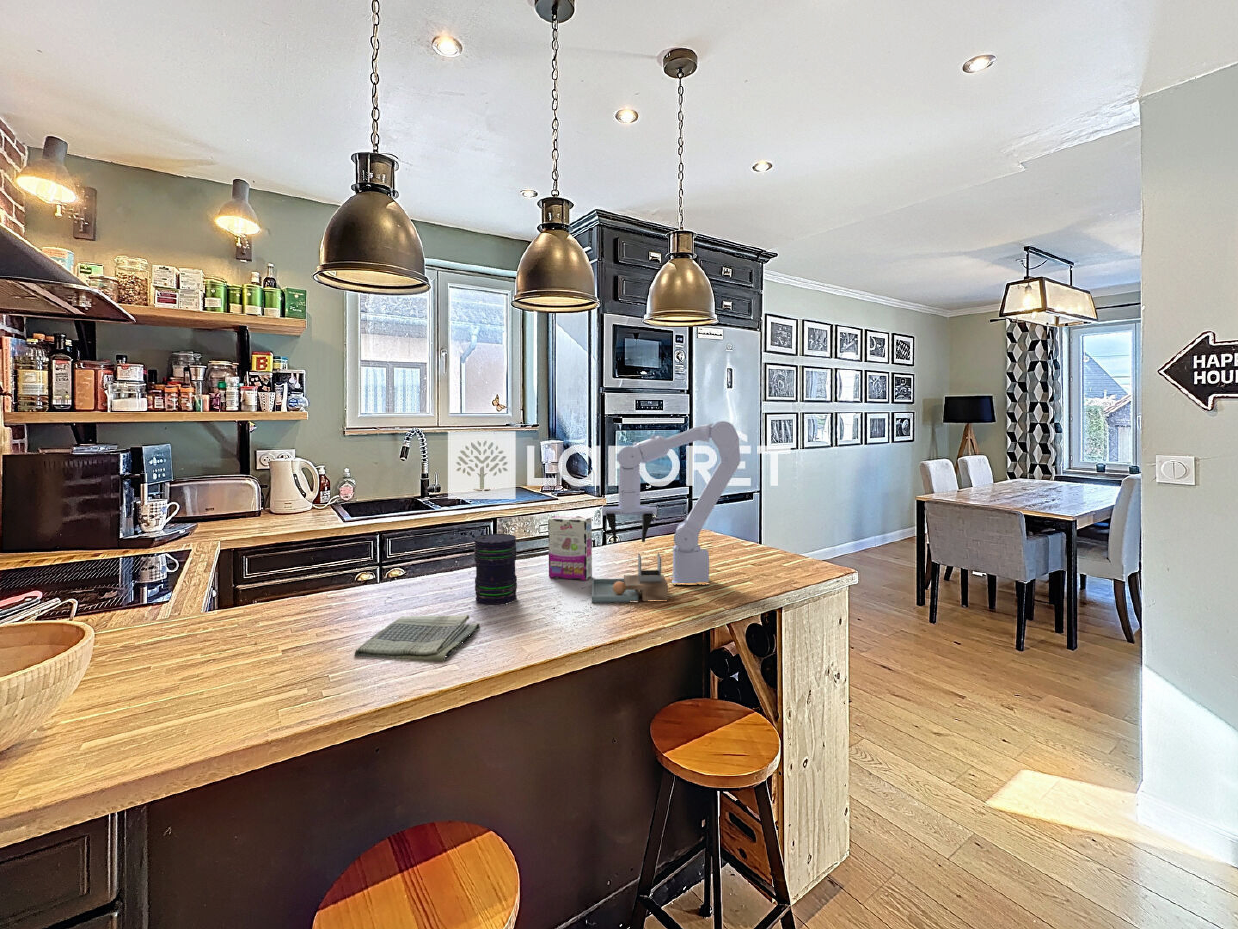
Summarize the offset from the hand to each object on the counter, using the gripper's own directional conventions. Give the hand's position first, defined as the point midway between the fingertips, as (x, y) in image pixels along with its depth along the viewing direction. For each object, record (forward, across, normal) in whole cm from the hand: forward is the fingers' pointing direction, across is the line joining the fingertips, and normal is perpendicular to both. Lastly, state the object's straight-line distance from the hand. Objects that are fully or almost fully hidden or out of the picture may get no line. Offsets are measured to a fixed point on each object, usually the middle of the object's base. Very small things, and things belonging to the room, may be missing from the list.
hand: (629, 541), depth 157 cm
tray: (+10, -4, -12) cm, 17 cm away
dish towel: (+11, -43, -42) cm, 61 cm away
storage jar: (+11, -33, -16) cm, 38 cm away
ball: (+8, -3, -15) cm, 17 cm away
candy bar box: (+11, -16, +3) cm, 19 cm away
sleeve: (+6, +4, -15) cm, 17 cm away
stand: (+10, +4, -15) cm, 19 cm away
